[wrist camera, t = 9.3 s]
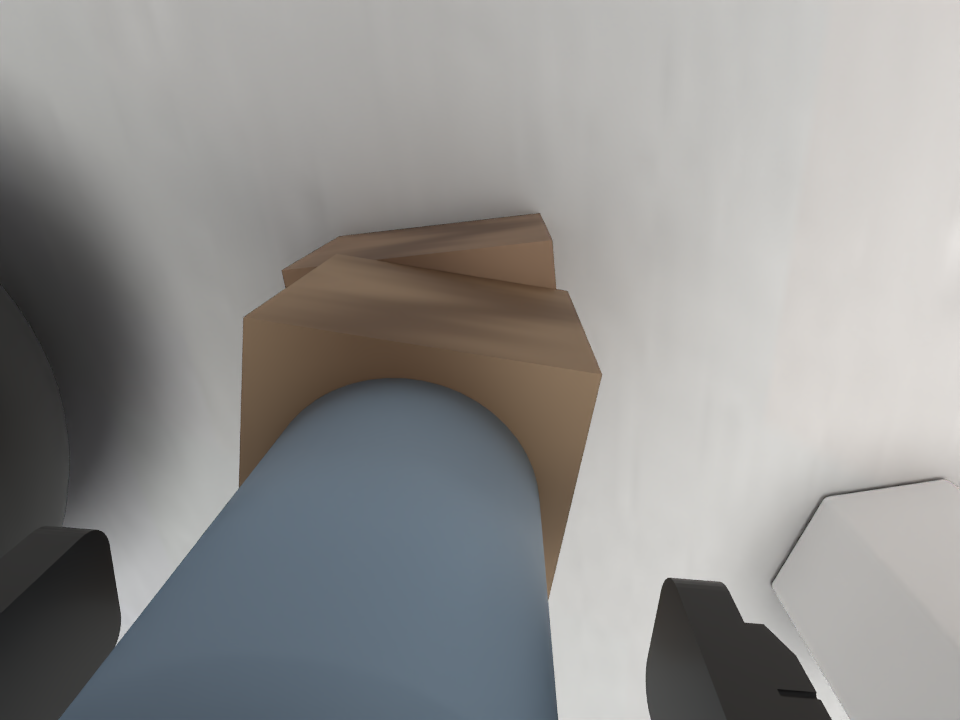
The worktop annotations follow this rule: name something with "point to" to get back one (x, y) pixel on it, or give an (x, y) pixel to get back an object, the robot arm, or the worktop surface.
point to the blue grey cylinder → (355, 578)
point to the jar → (882, 599)
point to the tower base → (452, 250)
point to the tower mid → (428, 360)
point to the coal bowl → (29, 433)
